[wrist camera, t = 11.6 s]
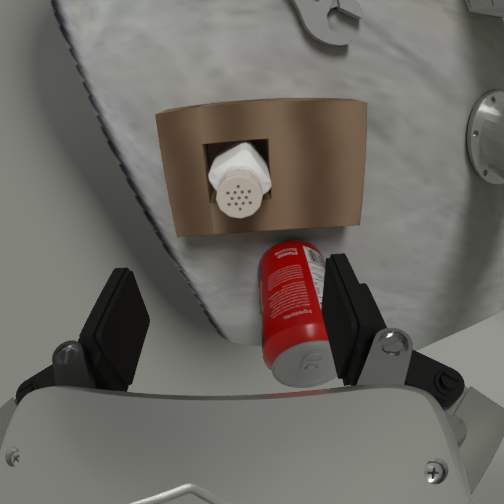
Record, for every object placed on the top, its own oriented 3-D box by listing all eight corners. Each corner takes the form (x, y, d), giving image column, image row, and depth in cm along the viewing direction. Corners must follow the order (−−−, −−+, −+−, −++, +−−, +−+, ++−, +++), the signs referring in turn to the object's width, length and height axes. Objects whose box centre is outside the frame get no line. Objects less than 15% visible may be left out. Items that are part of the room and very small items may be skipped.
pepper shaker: (246, 133, 27) (247, 158, 19) (269, 166, 29) (279, 205, 21) (212, 156, 28) (198, 191, 20) (236, 187, 30) (232, 233, 22)
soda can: (329, 238, 34) (370, 337, 21) (315, 291, 38) (340, 390, 26) (261, 233, 33) (270, 336, 21) (254, 288, 38) (258, 392, 25)
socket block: (352, 99, 25) (367, 103, 22) (348, 208, 32) (359, 225, 29) (166, 109, 26) (155, 114, 22) (184, 219, 32) (177, 237, 29)
